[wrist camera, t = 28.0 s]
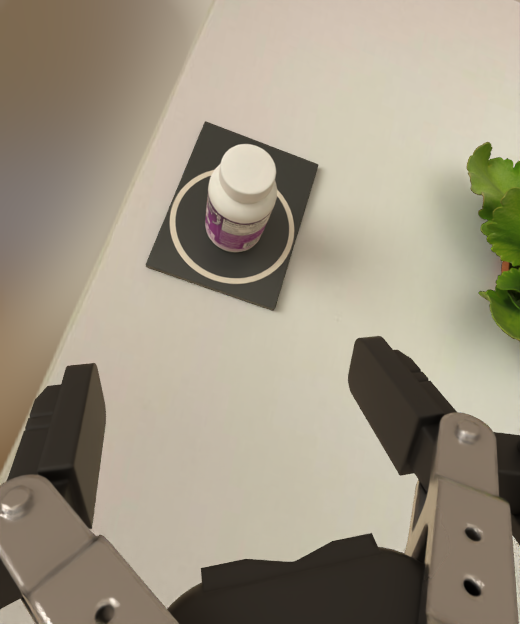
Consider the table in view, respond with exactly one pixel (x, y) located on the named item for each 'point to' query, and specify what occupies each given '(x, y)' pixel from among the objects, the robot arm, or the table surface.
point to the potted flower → (500, 231)
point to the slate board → (199, 247)
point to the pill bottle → (240, 198)
